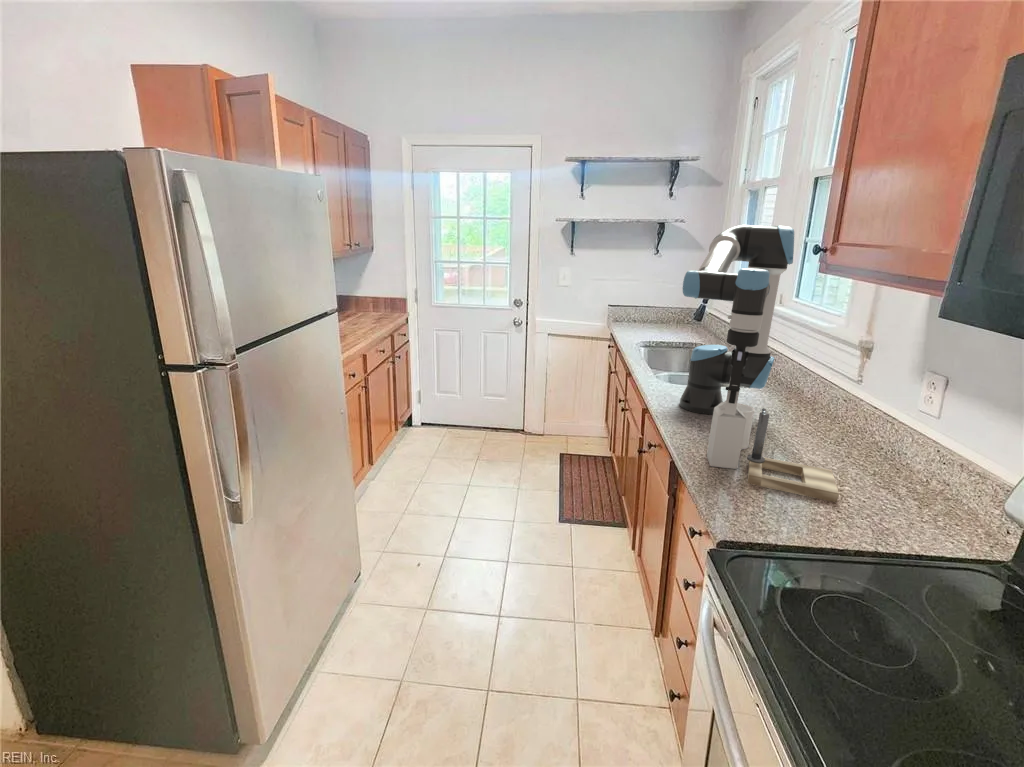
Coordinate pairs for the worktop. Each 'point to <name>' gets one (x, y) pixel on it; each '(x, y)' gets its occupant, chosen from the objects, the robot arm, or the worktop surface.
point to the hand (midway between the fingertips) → (730, 406)
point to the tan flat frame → (812, 484)
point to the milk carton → (725, 438)
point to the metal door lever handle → (759, 438)
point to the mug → (748, 414)
